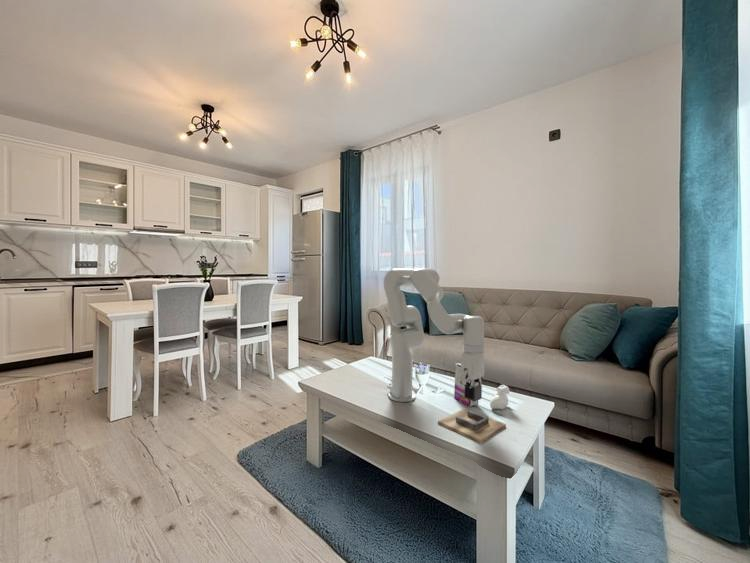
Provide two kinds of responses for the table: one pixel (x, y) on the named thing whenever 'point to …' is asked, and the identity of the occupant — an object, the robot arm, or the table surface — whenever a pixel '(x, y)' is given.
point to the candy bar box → (461, 388)
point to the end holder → (472, 425)
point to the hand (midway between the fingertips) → (472, 395)
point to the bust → (500, 398)
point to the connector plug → (476, 391)
